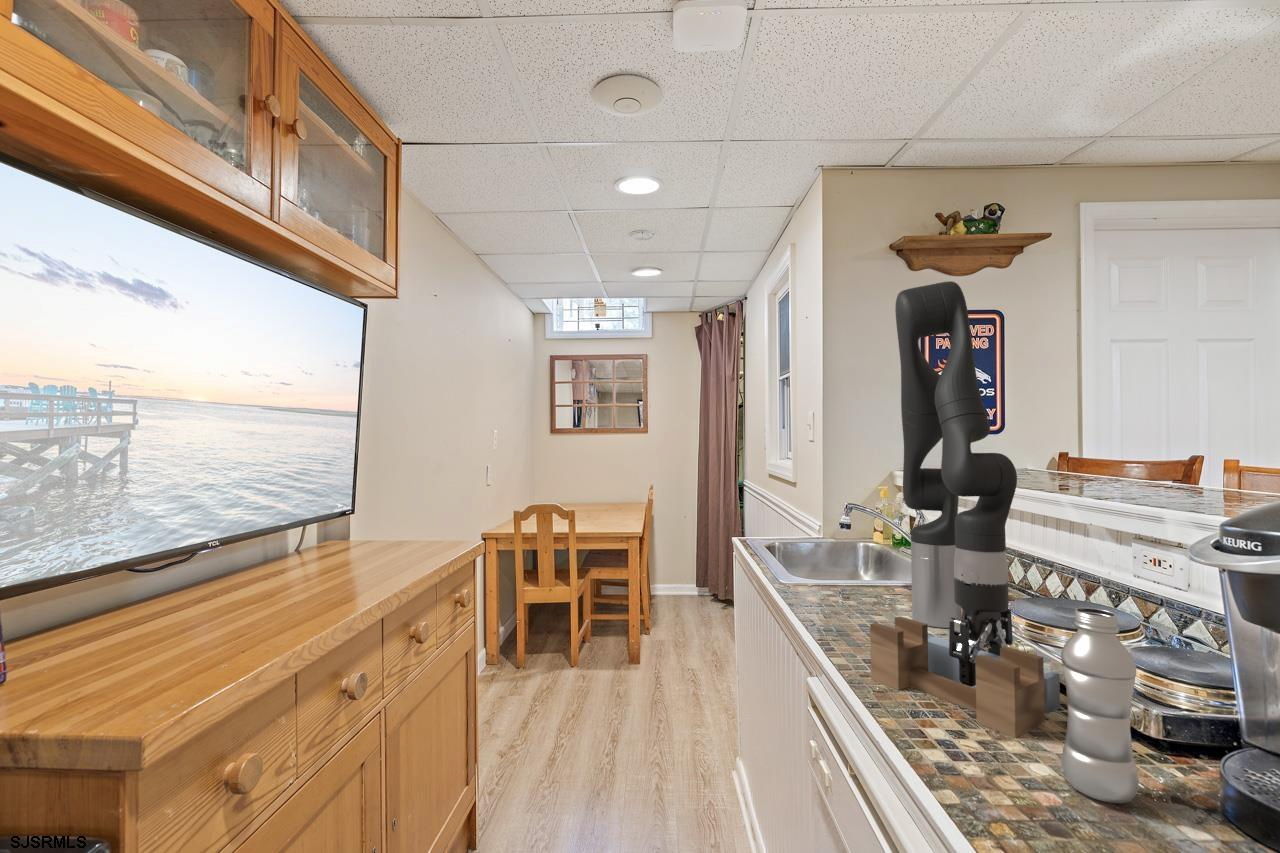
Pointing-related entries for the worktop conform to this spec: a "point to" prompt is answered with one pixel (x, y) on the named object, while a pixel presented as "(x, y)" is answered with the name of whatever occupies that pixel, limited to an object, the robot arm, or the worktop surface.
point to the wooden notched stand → (1001, 692)
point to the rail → (949, 665)
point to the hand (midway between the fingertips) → (982, 678)
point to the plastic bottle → (1099, 709)
